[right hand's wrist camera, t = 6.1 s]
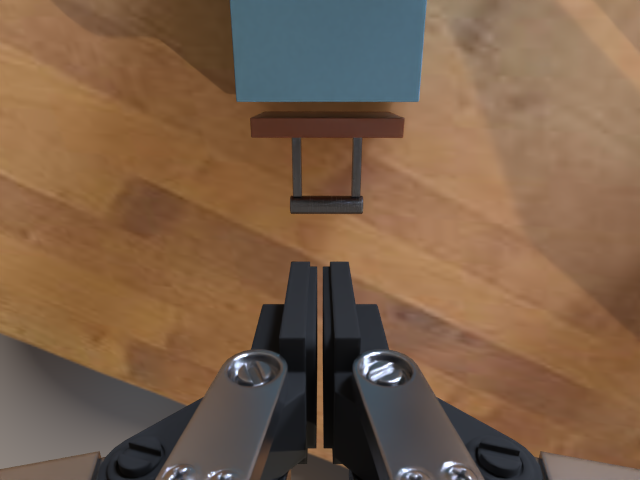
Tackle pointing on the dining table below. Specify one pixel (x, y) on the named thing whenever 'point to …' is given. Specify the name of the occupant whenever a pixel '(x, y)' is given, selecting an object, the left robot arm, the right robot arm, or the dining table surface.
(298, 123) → the drawer
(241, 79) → the cabinet
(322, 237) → the dining table surface
